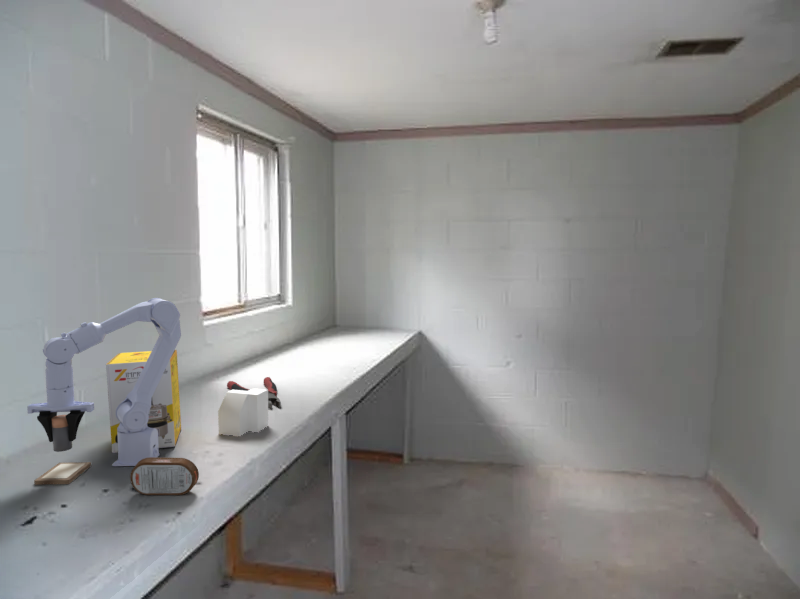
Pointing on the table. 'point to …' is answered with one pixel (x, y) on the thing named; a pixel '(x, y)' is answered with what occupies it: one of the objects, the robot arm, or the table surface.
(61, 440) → the gray and tan capsule
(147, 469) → the tin
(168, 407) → the packaging box
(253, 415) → the corner bracket
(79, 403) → the robot arm
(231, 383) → the pliers
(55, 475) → the brown picture frame
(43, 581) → the table surface
